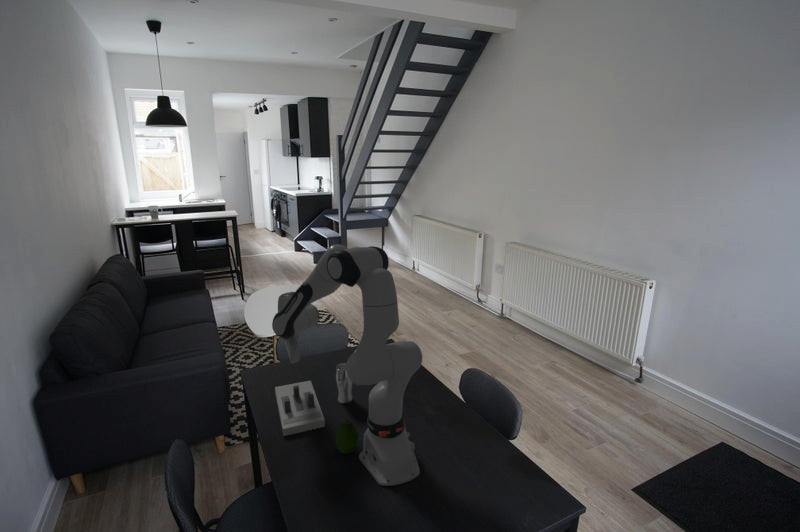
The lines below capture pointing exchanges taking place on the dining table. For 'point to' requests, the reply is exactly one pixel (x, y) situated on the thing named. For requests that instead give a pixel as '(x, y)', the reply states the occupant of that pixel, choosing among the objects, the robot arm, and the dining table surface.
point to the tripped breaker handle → (296, 391)
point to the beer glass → (343, 384)
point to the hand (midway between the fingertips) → (292, 362)
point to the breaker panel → (298, 408)
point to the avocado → (347, 437)
